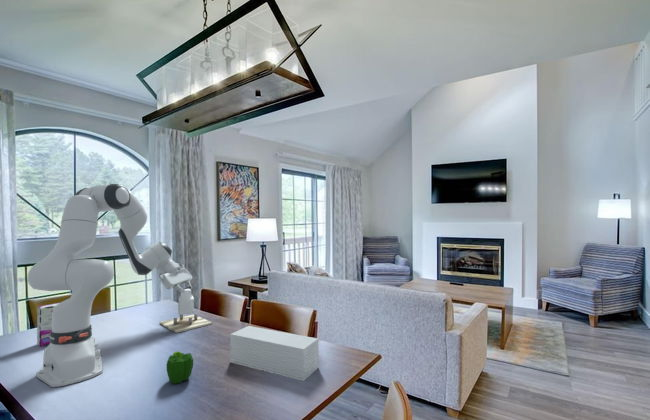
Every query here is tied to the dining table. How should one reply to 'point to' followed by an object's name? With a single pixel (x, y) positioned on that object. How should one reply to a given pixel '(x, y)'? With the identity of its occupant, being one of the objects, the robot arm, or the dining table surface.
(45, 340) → the candy bar box
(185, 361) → the bell pepper
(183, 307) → the medicine bottle
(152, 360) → the dining table surface
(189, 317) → the stub cradle
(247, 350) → the stack of papers
